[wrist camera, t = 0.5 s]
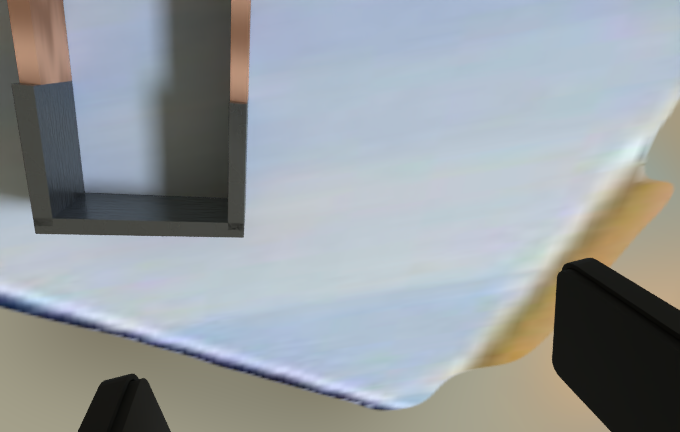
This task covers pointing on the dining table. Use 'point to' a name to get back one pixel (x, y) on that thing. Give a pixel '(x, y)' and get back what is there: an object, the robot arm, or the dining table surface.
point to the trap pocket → (114, 209)
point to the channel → (53, 56)
